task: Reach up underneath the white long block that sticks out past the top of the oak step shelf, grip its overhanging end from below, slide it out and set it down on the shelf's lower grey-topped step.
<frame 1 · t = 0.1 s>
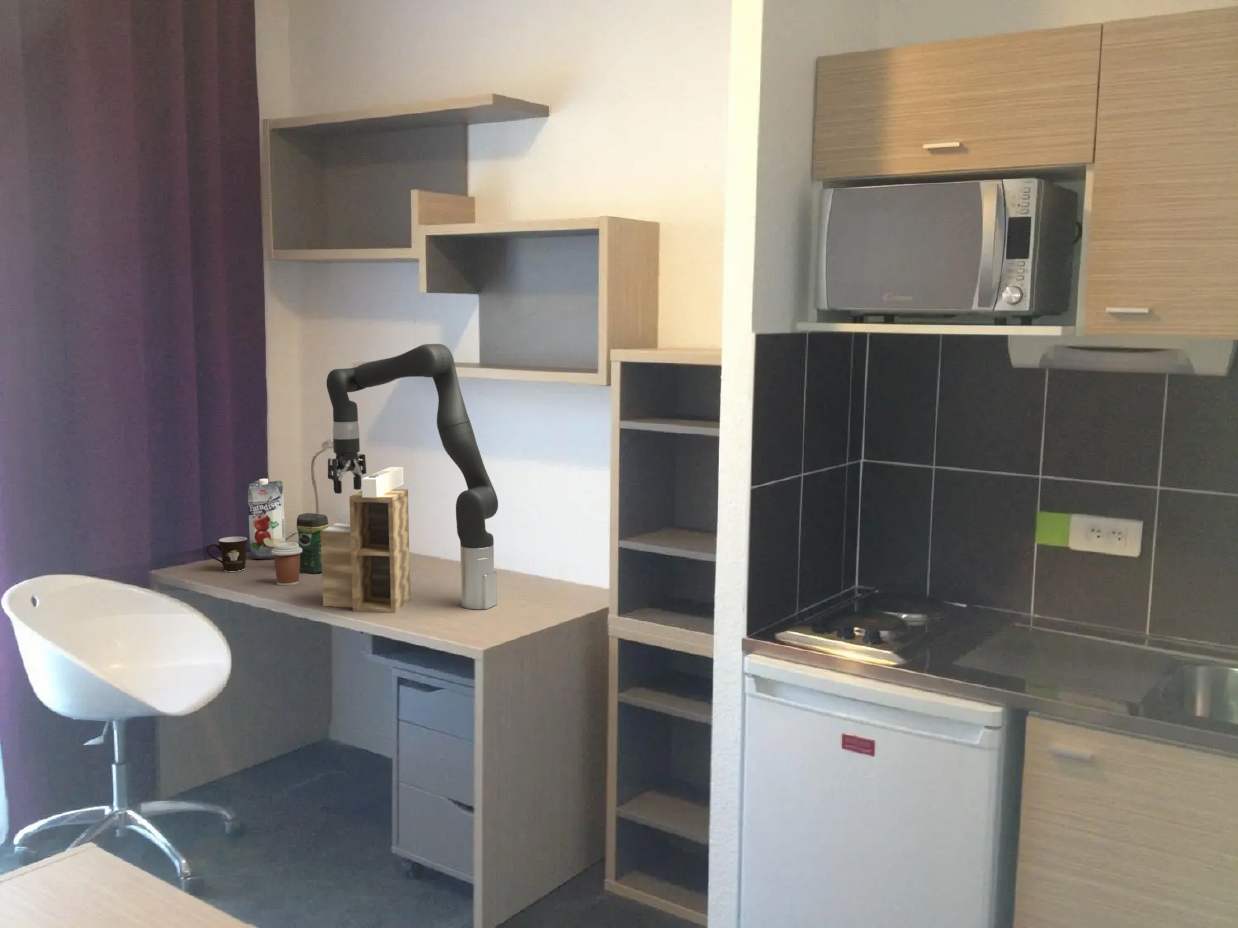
hand: (347, 491, 320), 29 cm above the table, tool pointing down, fingers open, 8 cm apart
coffee mug: (229, 570, 347), on the table
juice carton: (268, 558, 365), on the table
white long block: (383, 490, 304), point 32 cm above the table, touching step shelf
coffee cup: (288, 583, 330), on the table
coffee jar: (314, 571, 346), on the table
step shelf: (382, 605, 304), on the table
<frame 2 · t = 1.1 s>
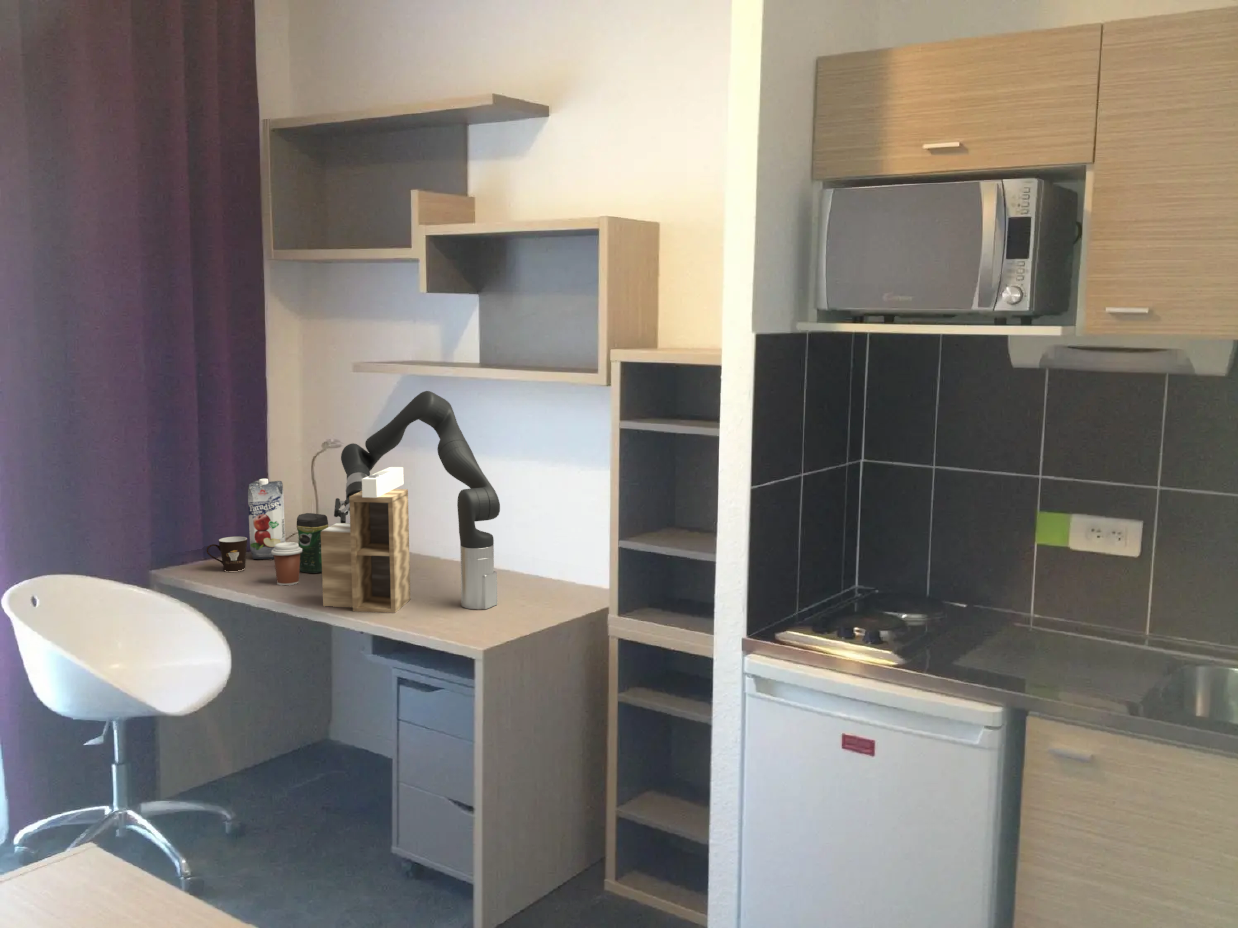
hand: (359, 524, 313), 21 cm above the table, tool tilted 60°, fingers open, 8 cm apart
nothing on the table moved.
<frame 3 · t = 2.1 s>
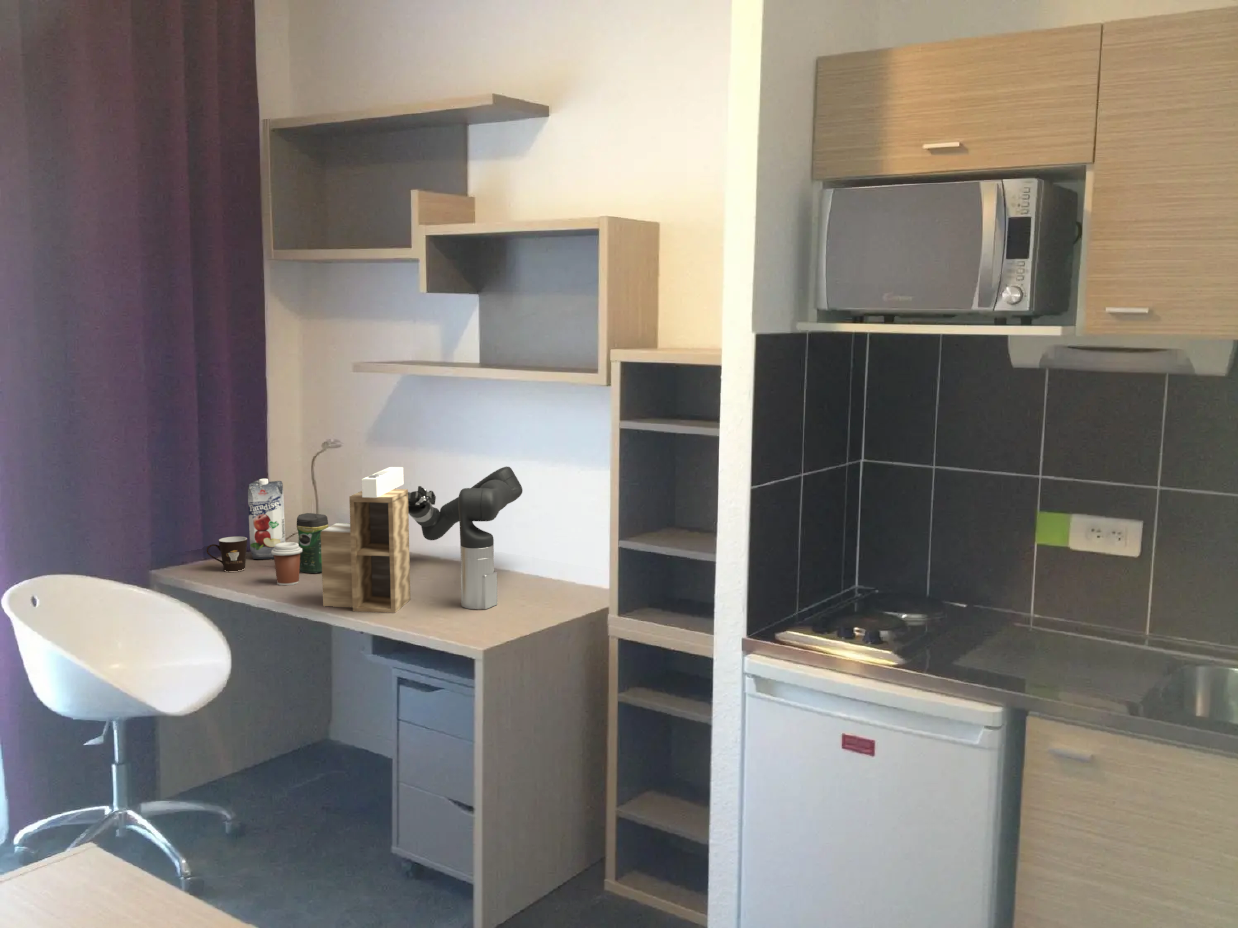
hand: (405, 488, 326), 29 cm above the table, tool pointing upward, fingers open, 8 cm apart
nothing on the table moved.
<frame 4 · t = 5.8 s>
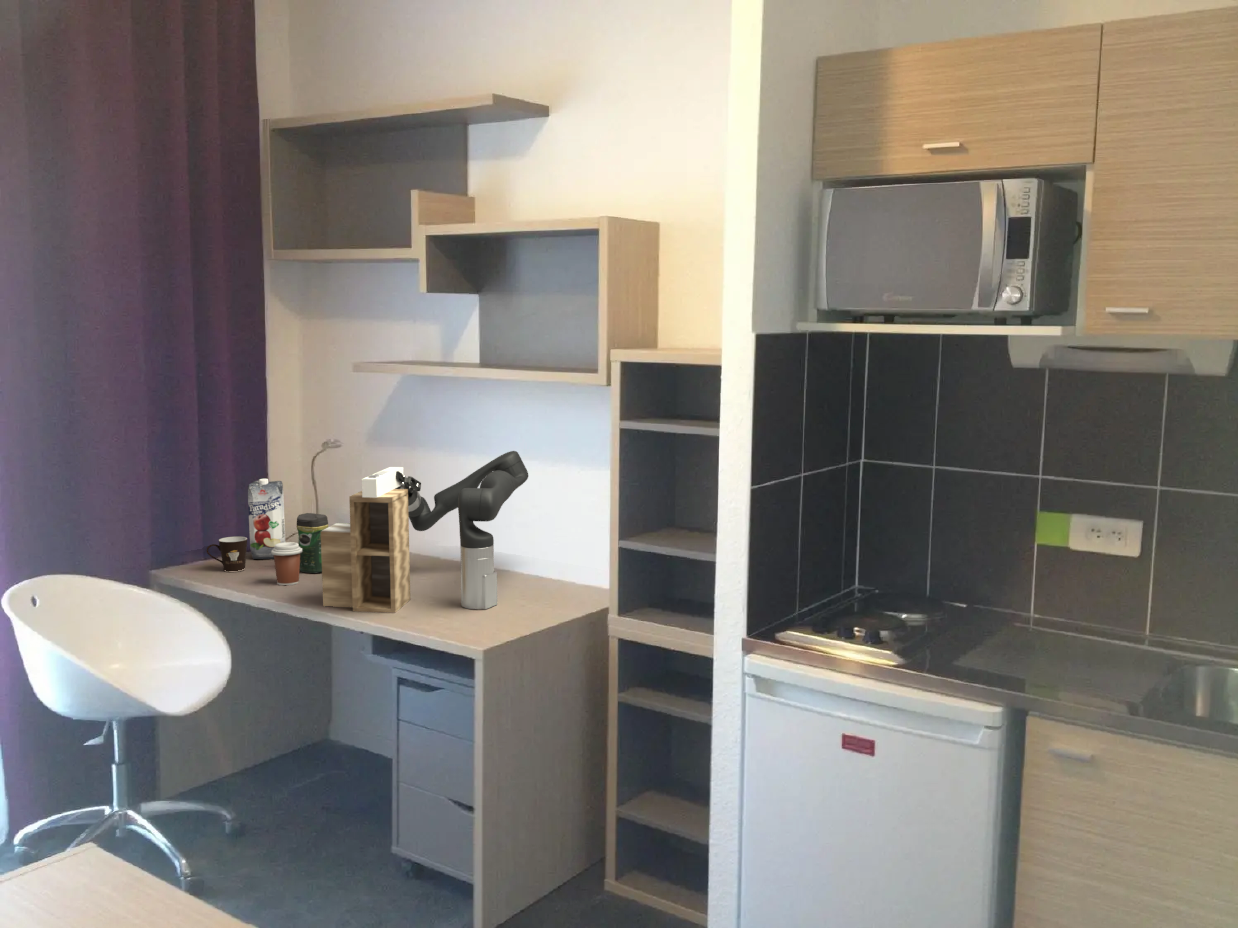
hand: (389, 474, 308), 36 cm above the table, tool pointing upward, fingers closed on white long block, 4 cm apart
white long block: (383, 490, 304), point 32 cm above the table, touching gripper, step shelf
everything else where it was.
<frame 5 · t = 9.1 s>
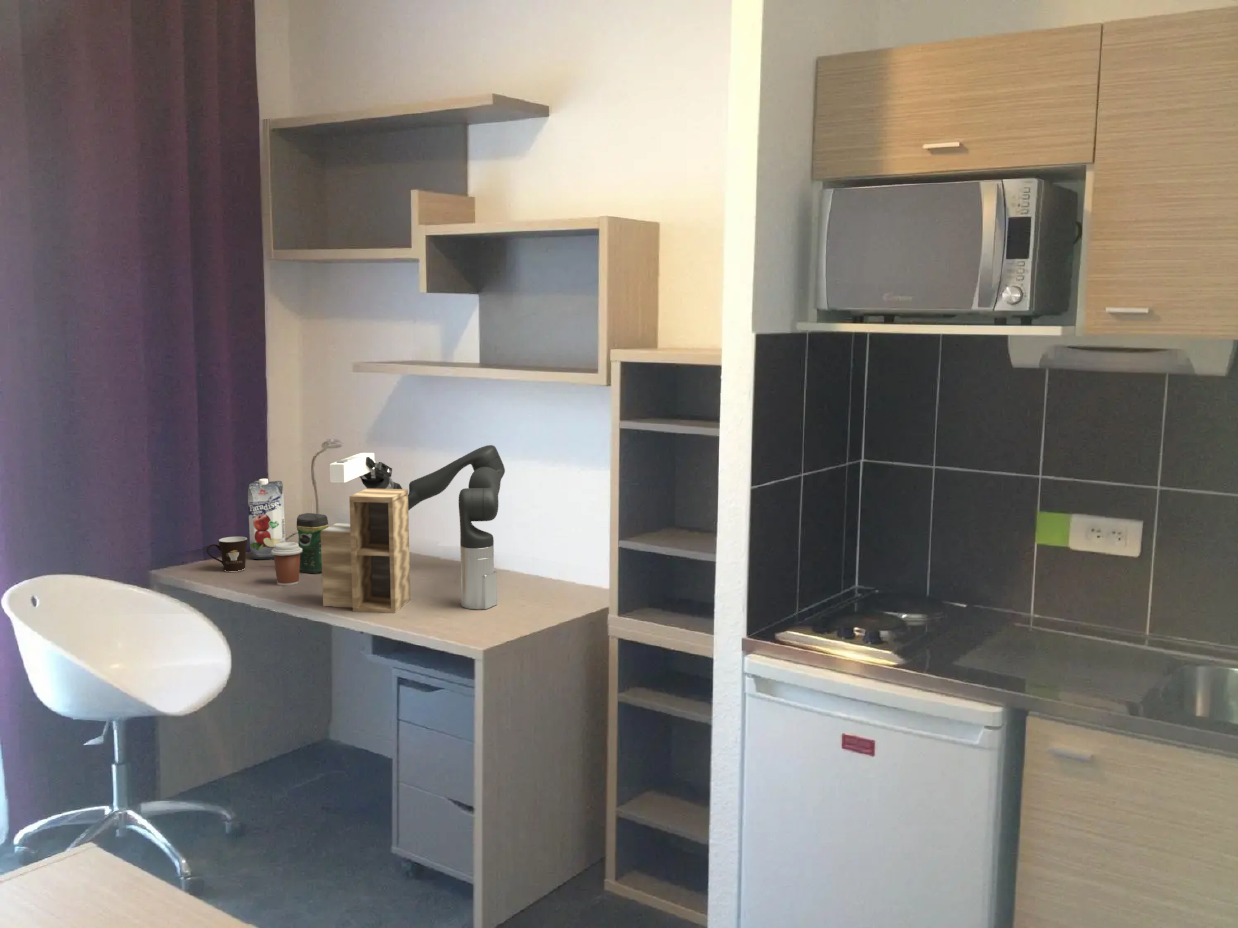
hand: (359, 459, 310), 40 cm above the table, tool pointing upward, fingers closed on white long block, 4 cm apart
white long block: (353, 475, 306), point 36 cm above the table, touching gripper
everything else where it was.
when the fingers open (27 cm above the table, at t = 12.2 s): white long block drops 2 cm, resting on step shelf.
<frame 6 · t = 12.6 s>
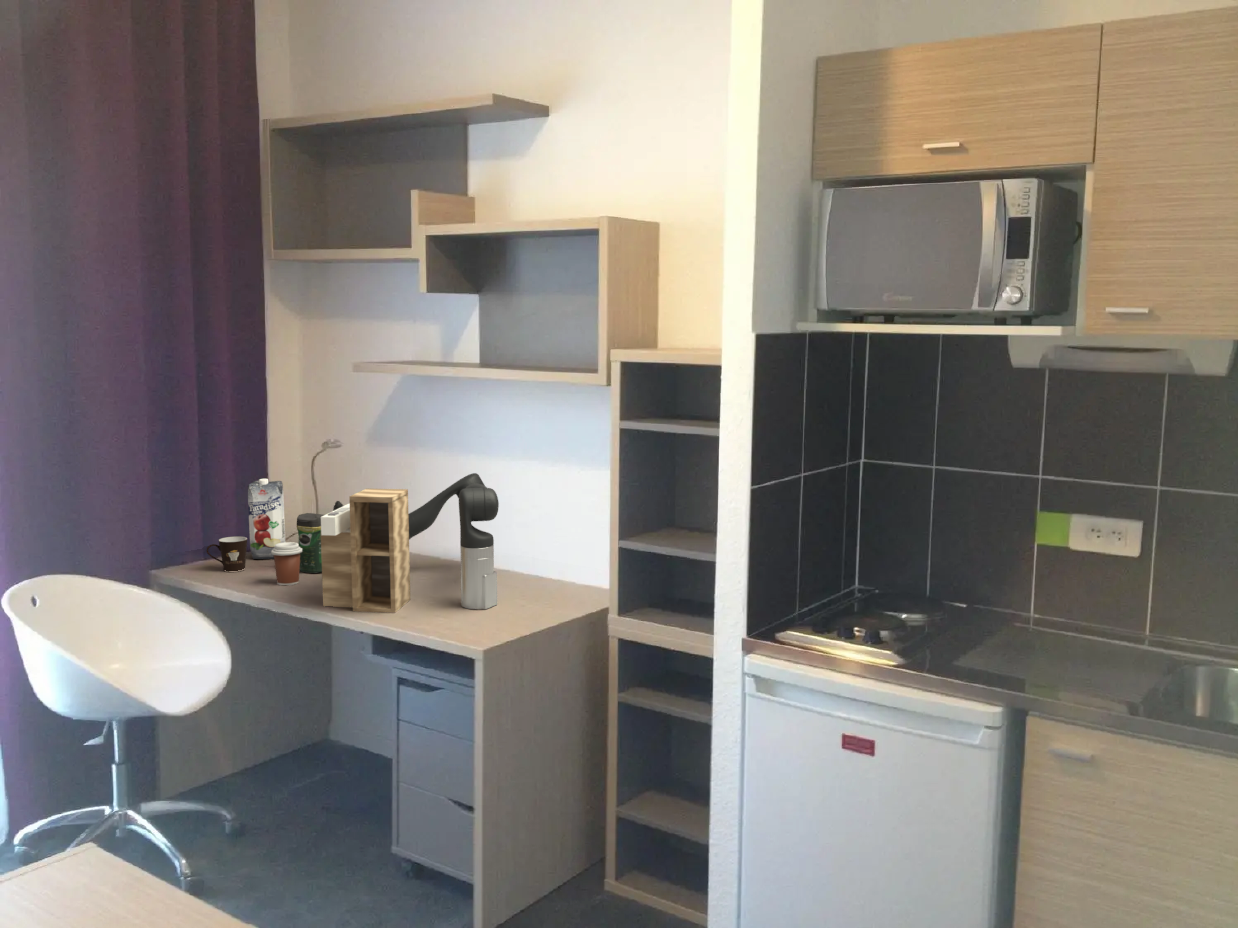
hand: (350, 504, 310), 27 cm above the table, tool pointing upward, fingers open, 7 cm apart
white long block: (344, 526, 306), point 21 cm above the table, touching step shelf
everything else where it was.
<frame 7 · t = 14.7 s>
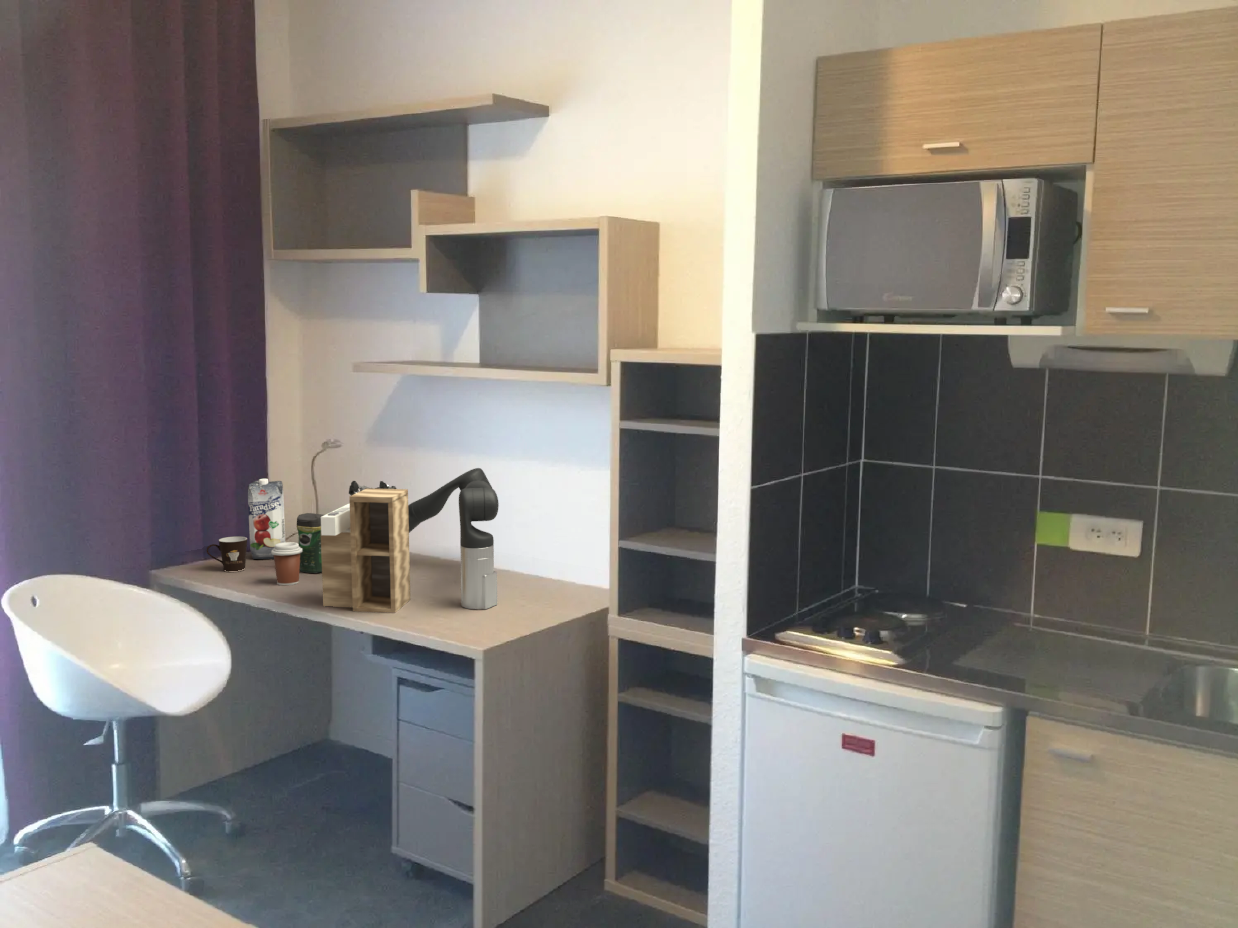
hand: (366, 483, 324), 31 cm above the table, tool pointing upward, fingers open, 8 cm apart
nothing on the table moved.
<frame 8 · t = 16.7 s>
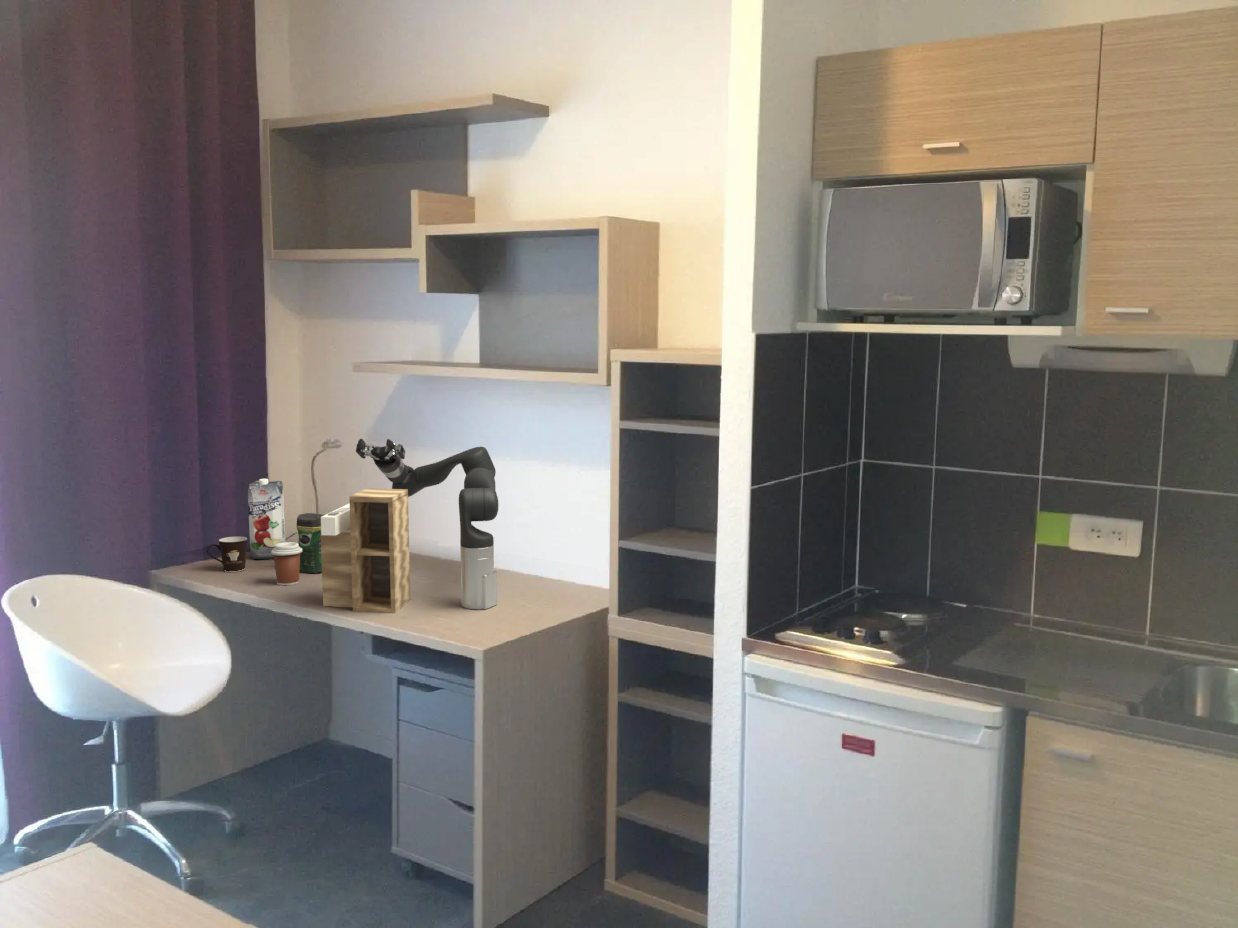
hand: (374, 441, 327), 43 cm above the table, tool pointing upward, fingers open, 8 cm apart
nothing on the table moved.
at the end: white long block inside the target area (0.7 cm from its centre), point 21.5 cm above the table; the gripper is holding nothing; white long block tilted 0° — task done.
